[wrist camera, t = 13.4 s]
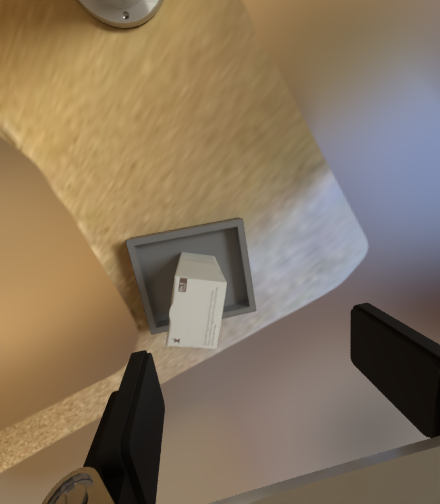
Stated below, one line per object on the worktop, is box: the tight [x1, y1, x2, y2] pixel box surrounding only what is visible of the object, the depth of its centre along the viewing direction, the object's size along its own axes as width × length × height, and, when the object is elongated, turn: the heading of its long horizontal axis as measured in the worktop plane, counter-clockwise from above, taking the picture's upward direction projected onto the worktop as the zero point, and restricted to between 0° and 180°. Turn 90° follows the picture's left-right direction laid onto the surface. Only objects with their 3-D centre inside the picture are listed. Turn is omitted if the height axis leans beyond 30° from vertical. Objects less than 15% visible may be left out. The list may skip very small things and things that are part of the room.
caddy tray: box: [126, 218, 256, 335], centre depth 38 cm, size 16×18×3 cm
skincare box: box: [166, 252, 227, 349], centre depth 31 cm, size 8×6×15 cm
